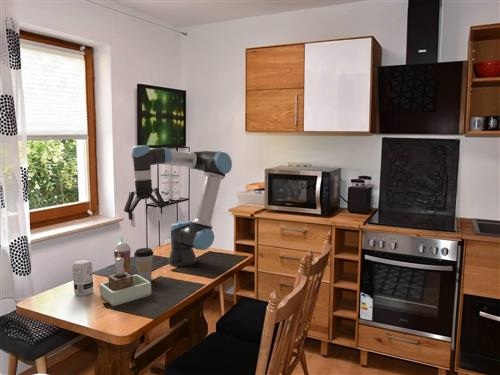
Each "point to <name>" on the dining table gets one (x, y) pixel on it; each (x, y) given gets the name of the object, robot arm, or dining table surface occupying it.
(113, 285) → the socket block
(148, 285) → the crate
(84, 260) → the supplement can
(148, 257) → the coffee cup
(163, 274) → the dining table surface
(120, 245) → the smoothie
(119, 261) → the steel peg
